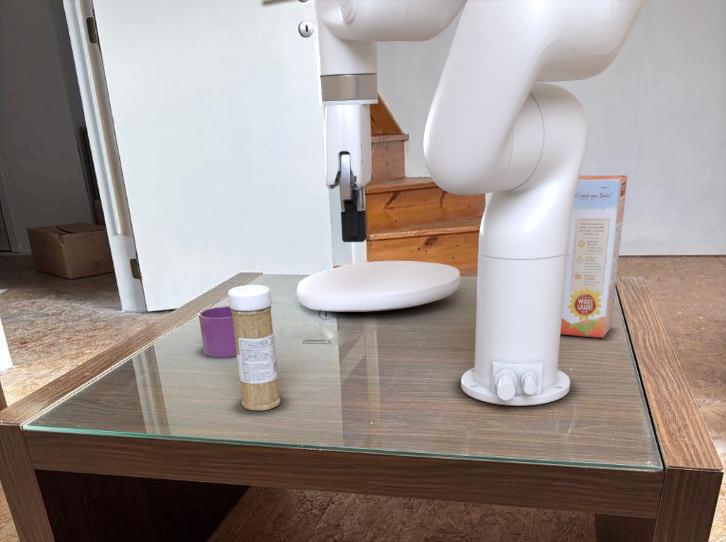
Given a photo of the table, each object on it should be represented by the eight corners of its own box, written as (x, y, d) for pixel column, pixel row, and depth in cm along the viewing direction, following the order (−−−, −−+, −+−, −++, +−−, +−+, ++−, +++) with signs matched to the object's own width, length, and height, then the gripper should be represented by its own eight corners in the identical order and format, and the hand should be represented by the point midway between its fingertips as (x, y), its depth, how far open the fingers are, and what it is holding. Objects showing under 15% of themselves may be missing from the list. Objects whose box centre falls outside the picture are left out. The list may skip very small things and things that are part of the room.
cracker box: (611, 328, 106) (630, 173, 97) (603, 340, 102) (621, 178, 92) (517, 320, 112) (526, 174, 103) (505, 331, 107) (513, 178, 98)
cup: (243, 357, 101) (239, 318, 99) (197, 357, 102) (191, 318, 100) (257, 343, 107) (253, 306, 105) (213, 343, 108) (208, 306, 106)
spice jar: (250, 397, 87) (236, 283, 81) (286, 398, 86) (275, 283, 80) (236, 411, 83) (220, 292, 77) (274, 413, 82) (261, 293, 76)
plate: (280, 294, 114) (308, 262, 137) (288, 334, 117) (314, 296, 140) (460, 270, 110) (457, 241, 133) (463, 313, 112) (460, 277, 136)
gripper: (331, 93, 100) (338, 232, 109) (307, 93, 87) (317, 251, 96) (385, 91, 99) (387, 232, 108) (368, 90, 86) (373, 250, 95)
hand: (354, 240), depth 102 cm, fingers closed
